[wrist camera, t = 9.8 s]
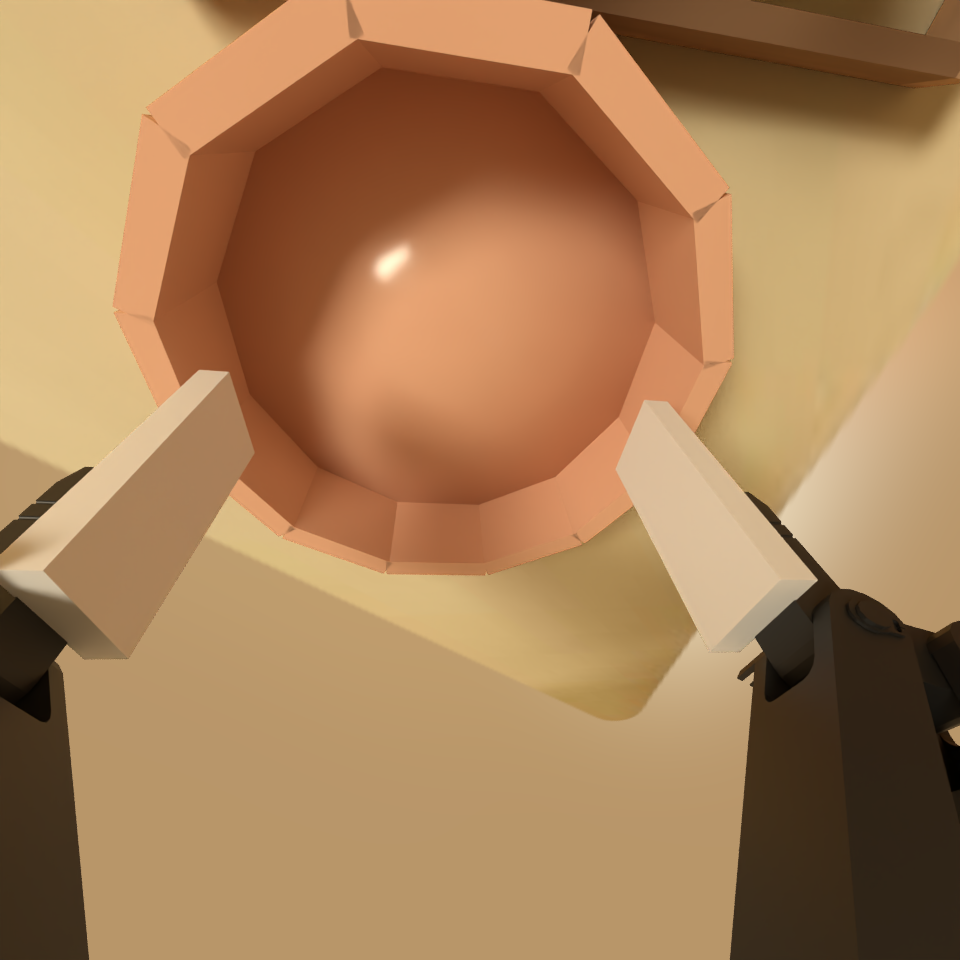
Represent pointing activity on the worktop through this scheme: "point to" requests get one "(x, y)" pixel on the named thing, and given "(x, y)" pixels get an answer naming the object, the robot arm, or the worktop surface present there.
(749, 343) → the worktop surface
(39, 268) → the worktop surface
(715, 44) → the tray
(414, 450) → the bowl
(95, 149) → the worktop surface
